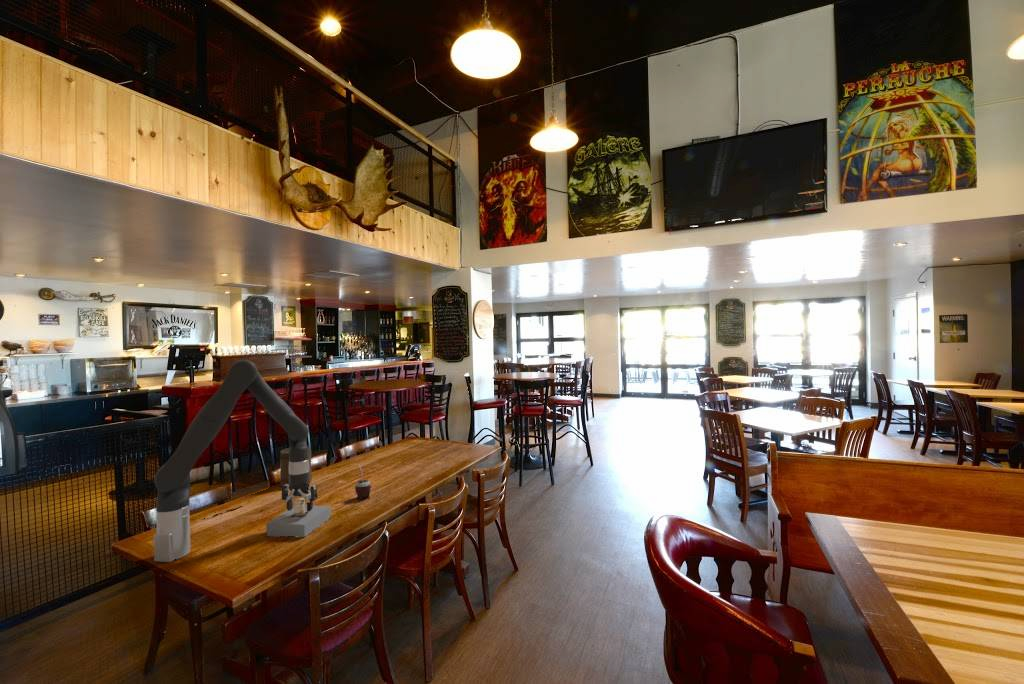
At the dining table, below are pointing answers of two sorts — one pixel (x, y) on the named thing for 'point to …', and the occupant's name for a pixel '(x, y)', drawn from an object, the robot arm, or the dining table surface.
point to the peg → (299, 507)
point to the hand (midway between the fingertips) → (299, 510)
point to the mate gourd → (363, 488)
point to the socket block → (298, 522)
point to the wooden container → (285, 466)
